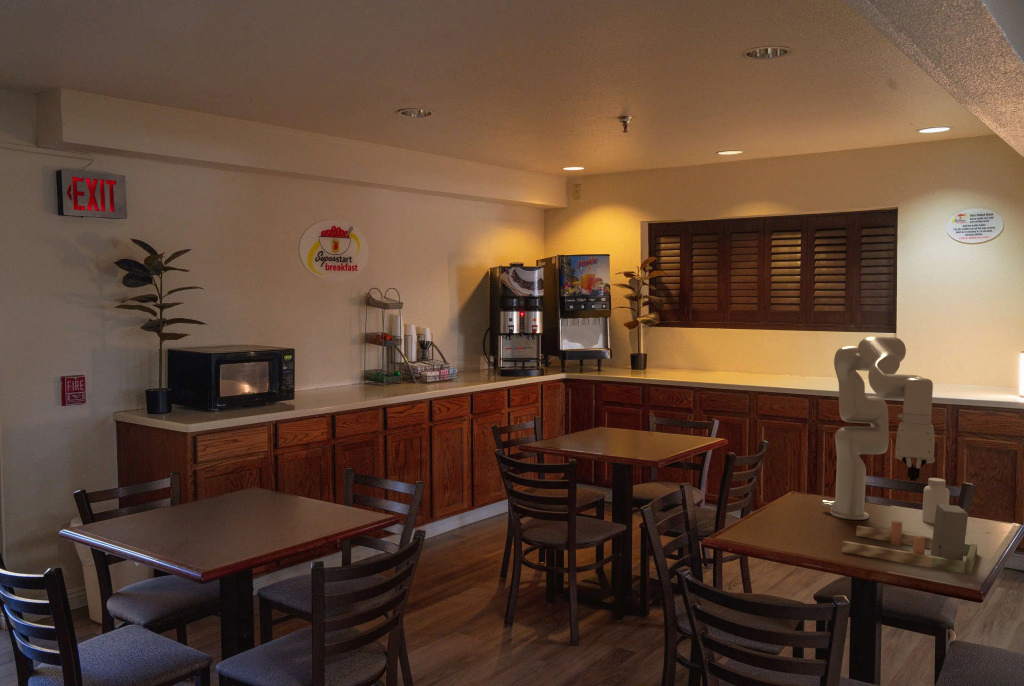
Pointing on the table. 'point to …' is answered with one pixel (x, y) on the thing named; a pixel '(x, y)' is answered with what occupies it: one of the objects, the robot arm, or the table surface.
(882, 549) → the lane
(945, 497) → the pill bottle
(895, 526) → the post
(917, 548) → the post
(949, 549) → the skincare box
